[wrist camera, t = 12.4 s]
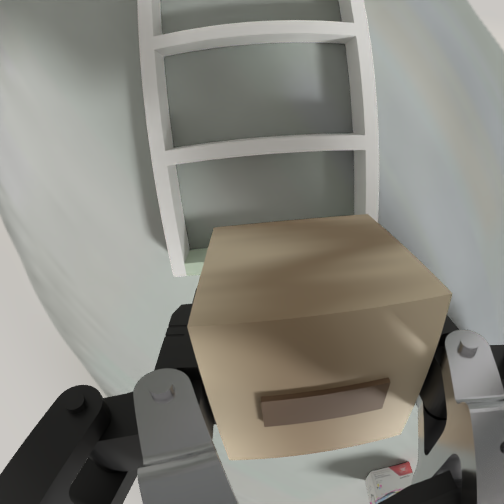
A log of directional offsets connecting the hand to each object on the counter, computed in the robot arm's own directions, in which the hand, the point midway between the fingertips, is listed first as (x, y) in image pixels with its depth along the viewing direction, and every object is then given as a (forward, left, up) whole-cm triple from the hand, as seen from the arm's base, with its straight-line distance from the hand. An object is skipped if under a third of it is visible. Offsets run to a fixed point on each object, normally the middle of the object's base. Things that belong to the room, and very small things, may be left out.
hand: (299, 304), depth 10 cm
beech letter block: (0, 0, -1) cm, 1 cm away
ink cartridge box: (-20, +53, -14) cm, 58 cm away
